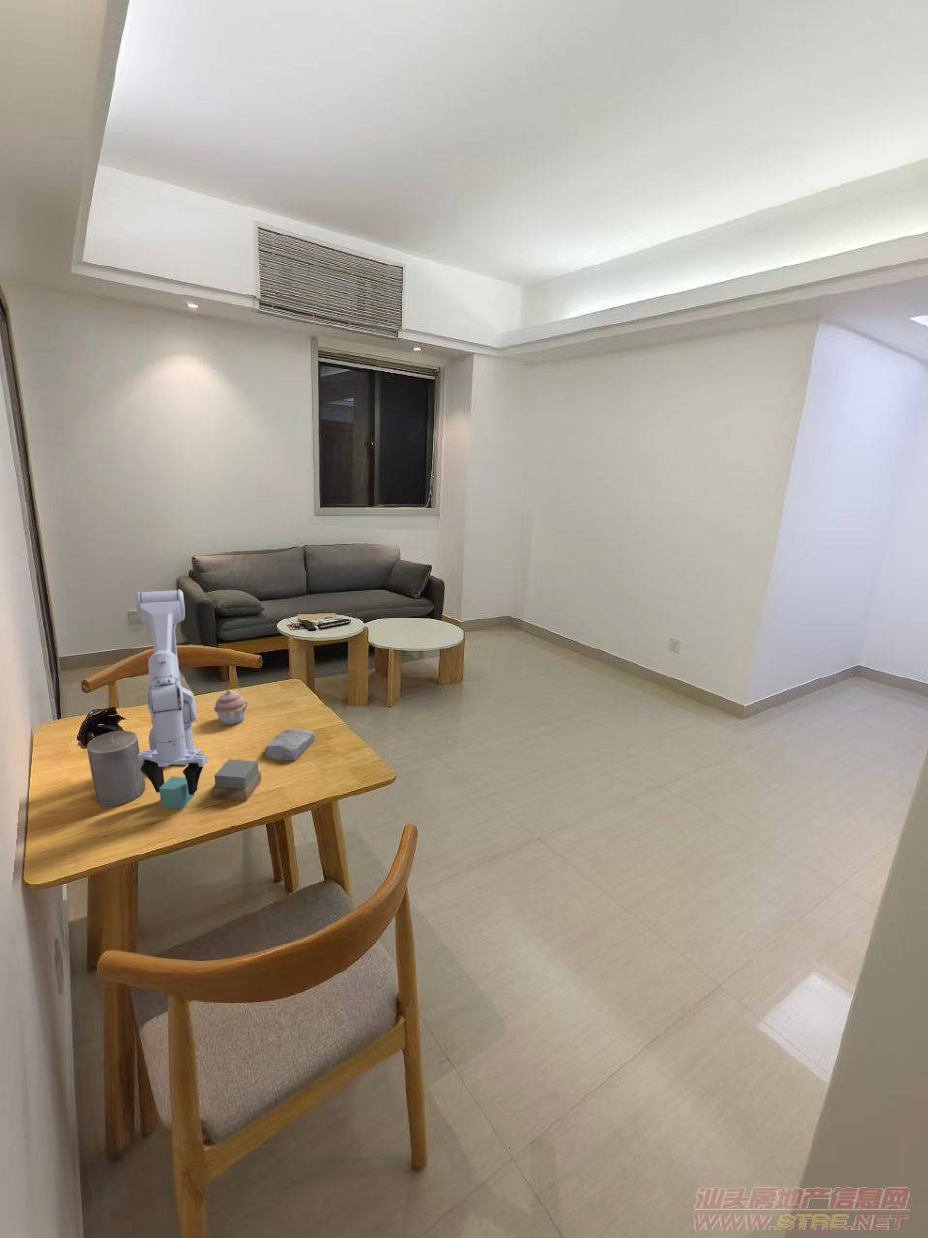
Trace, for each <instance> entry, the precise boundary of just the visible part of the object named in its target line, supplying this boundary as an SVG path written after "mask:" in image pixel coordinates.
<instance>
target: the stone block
mask: <svg viewBox="0 0 928 1238" xmlns="http://www.w3.org/2000/svg"><path fill="white" fill-rule="evenodd" d="M315 736H316V735H315V733H314V732H313V731H309V730H305V729H300V728H293V729H292V728H291V729H285V730H282V731H281V732H280V733H278V734H277V735H276V736H275V737H273V739H272V740H271V741H270V742H269V743H268V744H267V745H266V746H265V747H264V748H265V749H264V752H265V755H266V757H267V758H270V759H272V760H283V761H292V762H296V761H297V760H298V759H299V758H300V757H301V756H302V754H304V753H305V752H306V751H307V750H308V749H309V746H310V745H311V744H312V745H313V744H314V742H315V740H316V737H315ZM312 745H311V746H312ZM311 746H310V747H311Z"/></svg>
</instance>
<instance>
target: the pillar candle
mask: <svg viewBox="0 0 928 1238" xmlns="http://www.w3.org/2000/svg"><path fill="white" fill-rule="evenodd" d="M86 750H87V756H88V763H89V767H90V773H91V777H92V778H91V779H92V783H93V790H94V796H95V800H96V803H98V805H100V806H102V807H117V806H120V805H123V804H126V803H129V802H132V801H134V800H136V799H138V798H140V797H141V796H142V795H143V794H144V792H145V790H146V787H145V786H146V782H145V777H144V773H143V772H142V771H141V767H142V766H143V763H141V762H139V760H138V754H139V753H141V750H140V745H139V737H138V735H137V733H136V732H134V731H131V730H114V731H110V732H106V733H102V734H100V735H97V736H96V737H93V738H92V739H91V740H89V741H88V742H87V744H86Z"/></svg>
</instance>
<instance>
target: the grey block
mask: <svg viewBox="0 0 928 1238" xmlns="http://www.w3.org/2000/svg"><path fill="white" fill-rule="evenodd" d="M258 772H259V762H258V761H257V760H245V759H230V758H229V759H228V760H227V761H226V762H225V763H224V764H223V765H222V766H221V767H220V768H219V770H218V771H216V773H215V774H214V785H215V786H216V787H224V788H237V789H246V788H247V787H248V785H249V784H250V783H251V781H252V780H253V779H254V778H255V776H256V775H257V774H258Z"/></svg>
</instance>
